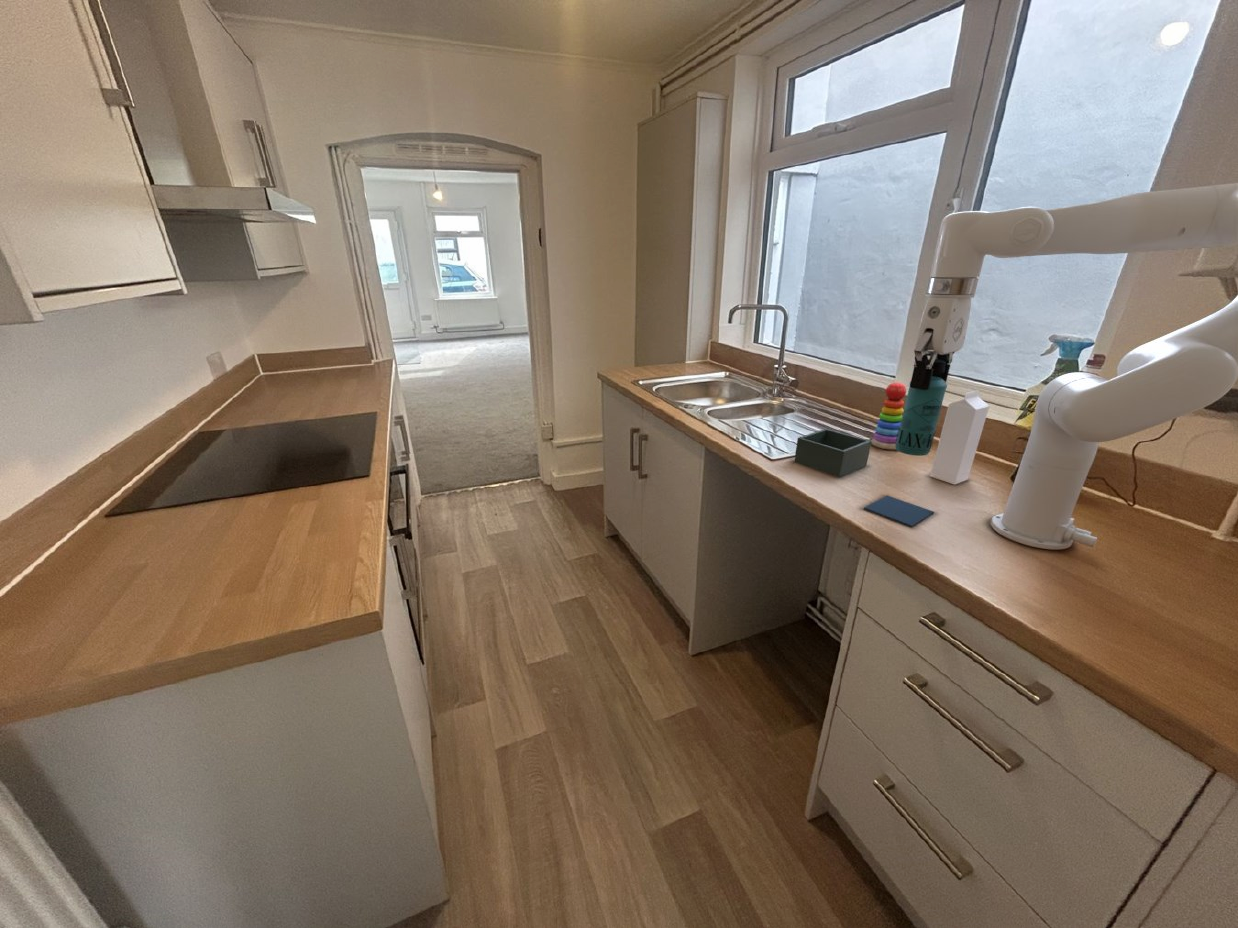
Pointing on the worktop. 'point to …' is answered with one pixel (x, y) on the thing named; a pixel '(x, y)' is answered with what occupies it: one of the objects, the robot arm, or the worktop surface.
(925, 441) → the beverage bottle
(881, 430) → the stacking toy
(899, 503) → the mat
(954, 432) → the milk
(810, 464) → the basket
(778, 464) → the worktop surface
